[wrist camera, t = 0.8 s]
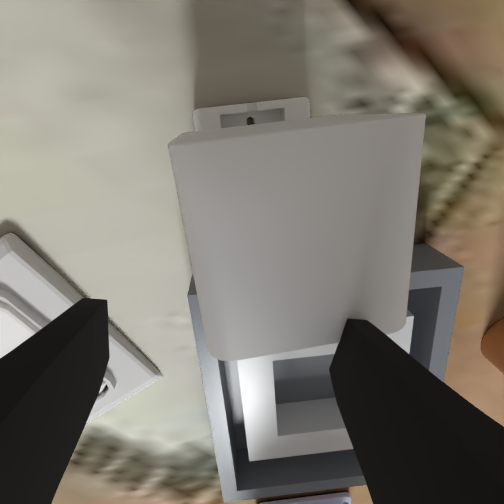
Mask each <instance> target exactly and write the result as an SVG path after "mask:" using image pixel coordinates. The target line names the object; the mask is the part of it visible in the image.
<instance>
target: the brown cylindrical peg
mask: <svg viewBox="0 0 504 504" xmlns="http://www.w3.org/2000/svg"><path fill="white" fill-rule="evenodd" d="M481 351H482V353H483V355H484V356H485V357H486V358H487V359H488V360H489V361H490V362H491V363H492V364H493V365H494V366H495V367H497V368H498V369H499V370H500V371H501V372H502V373H503V374H504V318H503V319H501V320H499V321H498V322H496V323H495V324H493V325H492V326H491V327H490V328H489V329H488V330H487V332H486V333H485V335H484V337H483V339H482V342H481Z"/></svg>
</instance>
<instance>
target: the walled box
mask: <svg viewBox="0 0 504 504" xmlns="http://www.w3.org/2000/svg"><path fill="white" fill-rule="evenodd" d="M463 270H464V267H463V266H462V265H460V264H459V263H457V262H455V261H454V260H452V259H450V258H449V257H447V256H446V255H444V254H442V253H441V252H439V251H437V250H436V249H434V248H433V247H431V246H429V245H428V244H426V243H422V244H413V253H412V263H411V274H410V284H409V294H408V305H407V315H406V323H405V325H404V327H403V328H402V329H401V330H399V331H397V332H394V333H391V334H386V335H387V336H388V337H389V338H390V339H392V340H393V341H394V342H395V343H396V344H398V345H399V346H400V347H401V348H402V349H404V350H405V351H406V352H407V353H408V354H410V355H411V356H412V357H413V358H414V359H415V360H417V361H418V362H419V363H420V364H422V365H423V366H424V367H425V368H426V369H428V370H429V371H430V372H431V373H432V374H434V375H435V376H436V377H437V378H439V379H440V380H441V381H442V382H444V376H445V370H446V365H447V359H448V354H449V348H450V342H451V337H452V331H453V326H454V320H455V314H456V309H457V303H458V298H459V292H460V286H461V281H462V275H463ZM187 296H188V301H189V307H190V313H191V318H192V324H193V330H194V335H195V341H196V347H197V352H198V358H199V364H200V369H201V375H202V381H203V386H204V392H205V398H206V404H207V409H208V415H209V421H210V426H211V432H212V438H213V443H214V449H215V455H216V460H217V466H218V472H219V477H220V483H221V489H222V494H223V500H224V502H232V501H240V500H248V499H256V498H264V497H272V496H280V495H288V494H296V493H304V492H312V491H321V490H329V489H337V488H345V487H353V486H361V485H367V484H366V481H365V478H364V476H363V473H362V470H361V467H360V465H359V462H358V459H357V457H356V454H355V451H354V449H353V446H352V443H351V441H350V438H349V435H348V433H347V430H346V427H345V425H344V422H343V419H342V416H341V414H340V411H339V408H338V405H337V402H336V398H335V394H334V390H333V386H332V381H331V376H330V372H329V368H330V365H331V362H332V360H333V357H334V354H335V351H336V349H337V346H338V343H334V344H328V345H322V346H317V347H311V348H305V349H300V350H294V351H288V352H283V353H277V354H271V355H266V356H260V357H254V358H249V359H243V360H237V361H222V360H218V359H216V358H214V357H213V356H212V355H211V354H210V353H209V351H208V347H207V342H206V337H205V332H204V327H203V322H202V317H201V312H200V306H199V301H198V296H197V291H196V286H195V281H194V276H193V274H192V278H191V283H190V287H189V291H188V295H187Z"/></svg>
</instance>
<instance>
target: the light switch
mask: <svg viewBox="0 0 504 504" xmlns="http://www.w3.org/2000/svg"><path fill="white" fill-rule="evenodd" d="M82 298H83V297H82V296H81V295H80V294H79V293H78V292H77V291H76V290H75V289H74V288H73V287H72V286H71V285H70V284H69V283H68V282H67V281H66V280H65V279H64V278H63V277H62V276H61V275H60V274H59V273H58V272H56V271H55V270H54V269H53V268H52V267H51V266H50V265H49V264H48V263H46V262H45V261H44V260H43V259H42V258H41V257H40V256H39V255H37V254H36V253H35V252H34V251H33V250H32V249H31V248H30V247H29V246H27V245H26V244H25V243H24V242H23V241H22V240H21V239H20V238H19V237H17V236H16V235H15V234H13V233H8V234H6V235H4V236H2V237H1V238H0V358H2V357H3V356H5V355H6V354H8V353H9V352H10V351H12V350H13V349H15V348H16V347H17V346H19V345H20V344H21V343H23V342H24V341H26V340H27V339H28V338H30V337H31V336H32V335H34V334H35V333H37V332H38V331H39V330H41V329H42V328H43V327H45V326H46V325H47V324H49V323H50V322H51V321H53V320H54V319H55V318H56V317H58V316H59V315H60V314H62V313H63V312H64V311H66V310H67V309H68V308H70V307H71V306H72V305H74V304H75V303H77V302H78V301H79V300H81V299H82ZM108 331H109V354H110V358H109V362H108V365H107V369H106V372H105V375H104V379H103V382H102V385H101V388H100V391H99V394H98V397H97V399H96V401H95V404H94V406H93V408H92V411H91V413H90V415H89V418H88V420H87V422H86V424H87V423H89V422H90V421H92V420H93V419H95V418H97V417H98V416H100V415H102V414H103V413H105V412H107V411H108V410H110V409H111V408H113V407H115V406H116V405H118V404H120V403H121V402H123V401H125V400H126V399H128V398H129V397H131V396H133V395H134V394H136V393H138V392H139V391H141V390H143V389H144V388H146V387H147V386H149V385H151V384H152V383H154V382H156V381H157V380H159V379H160V378H161V377H162V373H161V372H160V371H159V370H158V369H157V368H156V367H155V366H154V365H153V364H152V363H151V362H150V361H149V360H148V359H147V358H146V357H145V356H144V355H143V354H141V353H140V352H139V351H138V350H137V349H136V348H135V347H134V346H133V345H132V344H131V343H130V342H129V341H128V340H127V339H126V338H125V337H124V336H123V335H122V334H121V333H120V332H119V331H118V330H117V329H116V328H115V327H114V326H112V325H111V324H110V323H109V322H108ZM106 385H107V386H108V388H106V389H105V390H104V388H105V386H106Z"/></svg>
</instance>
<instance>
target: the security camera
mask: <svg viewBox="0 0 504 504" xmlns="http://www.w3.org/2000/svg"><path fill="white" fill-rule="evenodd" d="M249 117H252V118H253V120H254V125H247V119H248V118H249ZM425 119H426V115H425V114H423V113H405V114H350V115H332V116H322V117H314V118H310V101H309V99H308V98H306V97H298V98H289V99H280V100H271V101H262V102H255V103H244V104H235V105H226V106H217V107H208V108H199V109H196V110H195V111H194V112H193V121H194V127H195V131H194V132H187V133H183V134H181V135H180V136H178V137H177V138H175V139H174V140H173V141H171V142H170V143H169V144H168V149H169V154H170V159H171V164H172V169H173V174H174V179H175V184H176V189H177V194H178V199H179V205H180V210H181V215H182V220H183V225H184V230H185V235H186V240H187V245H188V250H189V255H190V261H191V266H192V271H193V276H194V281H195V286H196V291H197V296H198V301H199V306H200V312H201V317H202V322H203V327H204V332H205V337H206V342H207V347H208V351H209V353H210V354H211V355H212V356H213V357H214V358H216V359H218V360H222V361H237V360H243V359H249V358H254V357H260V356H266V355H271V354H277V353H283V352H288V351H294V350H300V349H305V348H311V347H317V346H322V345H328V344H334V343H339V342H340V339H341V335H342V332H343V329H344V327H345V324H346V321H347V318H348V319H361V320H368V321H369V322H370V323H372V324H373V325H374V326H376V327H377V328H378V329H380V330H381V331H382V332H383V333H384V334H391V333H394V332H397V331H399V330H401V329H402V328H403V327H404V325H405V323H406V315H407V305H408V294H409V284H410V274H411V263H412V253H413V243H414V233H415V222H416V212H417V202H418V191H419V181H420V171H421V160H422V150H423V140H424V130H425Z"/></svg>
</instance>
